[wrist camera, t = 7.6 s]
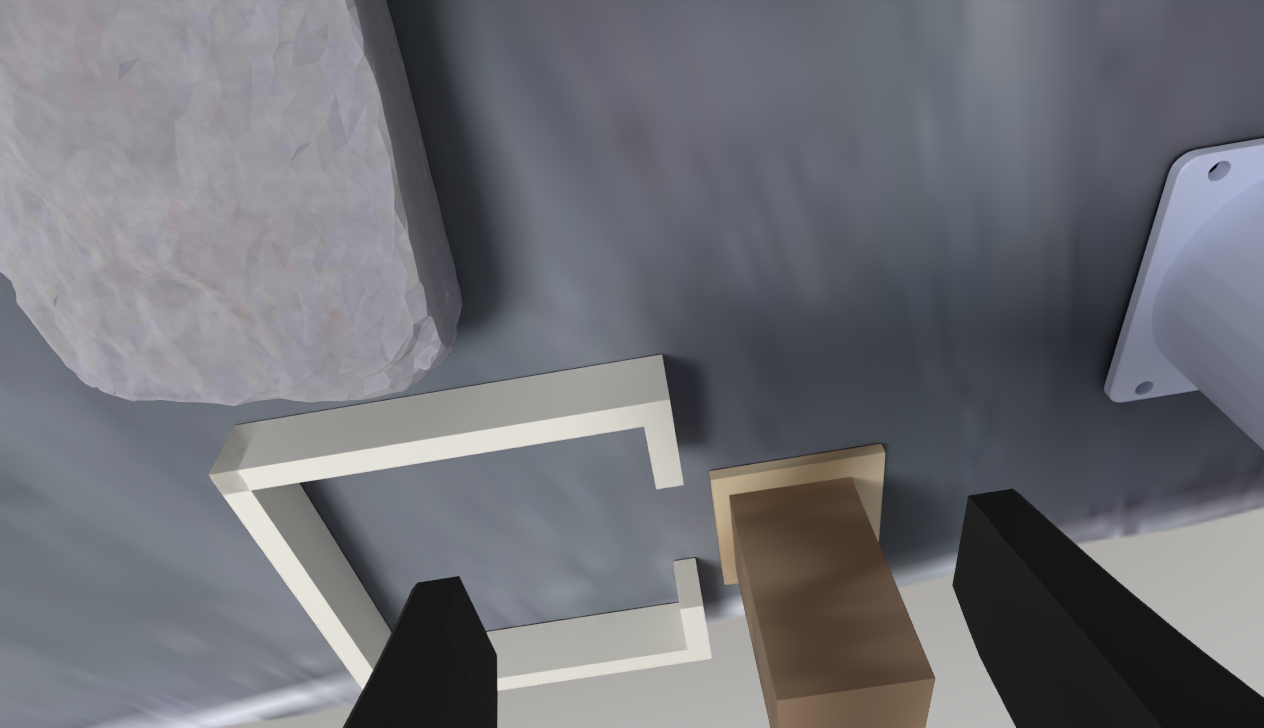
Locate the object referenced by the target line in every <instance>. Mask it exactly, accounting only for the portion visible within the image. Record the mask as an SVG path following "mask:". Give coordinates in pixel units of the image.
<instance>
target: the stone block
mask: <svg viewBox="0 0 1264 728" xmlns="http://www.w3.org/2000/svg"><path fill="white" fill-rule="evenodd" d="M0 272H1V273H2V274H4V275H5V276H6V277H7V278H8V279H9V280H10V281H12V284H13V287H14V289H15V291H16V293H17V303H18V304H19V306H20V307H21V308H22V309H23V311H24V312H25V313H26V314H27V316H28V317H29V318H30V320H31V321H32V322H33V324H34V325H35V326H36V328H37V329H38V331H39V332H40V333H41V335H42V336H43V337H44V338H45V340H46V341H47V342H48V344H49V345H50V346H51V347H52V349H53V350H54V351H55V352H56V353H57V354H58V355H59V356H60V357H61V359H62V360H63V362H64V363H65V365H66V366H67V367H68V368H70V369H71V370H73V371H74V372H75V373H76V374H77V376H78V377H79V378H80V379H81V380H82V381H83V382H85V383H86V384H87V385H89V386H91V387H93V388H94V387H98V388H99V389H100V390H101V391H102V392H105V393H109V394H112V395H115V396H118V397H121V398H125V399H128V400H131V401H140V400H148V401H153V400H168V401H177V402H206V403H215V404H224V405H231V406H237V405H241V404H245V403H249V402H253V401H260V400H270V399H278V398H282V399H288V400H294V401H303V402H311V403H312V402H318V401H346V400H364V399H370V398H375V397H379V396H382V395H386V394H389V393H395V392H400V391H405V390H406V389H408V388H409V387H411V386H412V385H413V384H415V383H416V382H418V381H419V380H421V379H422V378H424V377H425V375H426V374H428V373H429V372H430V371H431V370H432V369H434V368H435V367H437V366H438V365H439V364H441V363H442V362H444V360H445V359H446V357H447V356H448V355H449V354H450V352H452V351H453V350H454V347H453V345H454V343H455V340H456V337H457V328H456V325H457V323H458V320H459V316H460V312H461V309H462V296H461V290H460V287H459V284H458V280H457V276H456V270H455V264H454V261H453V257H452V253H451V249H450V246H449V242H448V239H447V236H446V232H445V229H444V224H443V220H442V215H441V211H440V206H439V202H438V198H437V195H436V191H435V187H434V183H433V180H432V176H431V172H430V169H429V165H428V160H427V156H426V152H425V147H424V143H423V139H422V134H421V130H420V125H419V122H418V119H417V115H416V111H415V107H414V103H413V99H412V95H411V91H410V87H409V83H408V79H407V75H406V70H405V66H404V62H403V59H402V55H401V51H400V48H399V44H398V40H397V36H396V32H395V29H394V25H393V21H392V18H391V15H390V12H389V8H388V5H387V1H386V0H0Z"/></svg>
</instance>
